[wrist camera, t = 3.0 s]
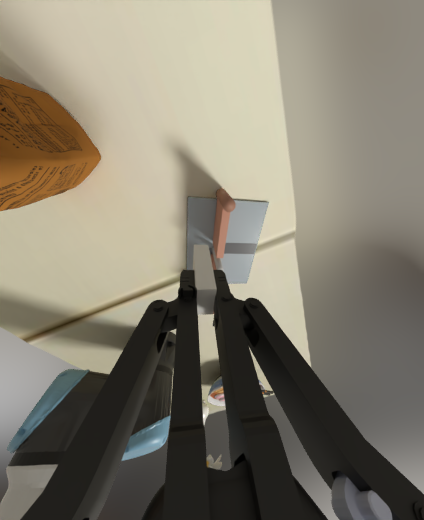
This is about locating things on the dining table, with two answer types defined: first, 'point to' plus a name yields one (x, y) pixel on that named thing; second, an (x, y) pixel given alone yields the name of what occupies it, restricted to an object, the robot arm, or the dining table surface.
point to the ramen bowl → (218, 394)
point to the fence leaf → (222, 221)
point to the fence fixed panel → (216, 262)
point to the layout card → (238, 235)
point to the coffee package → (39, 147)
